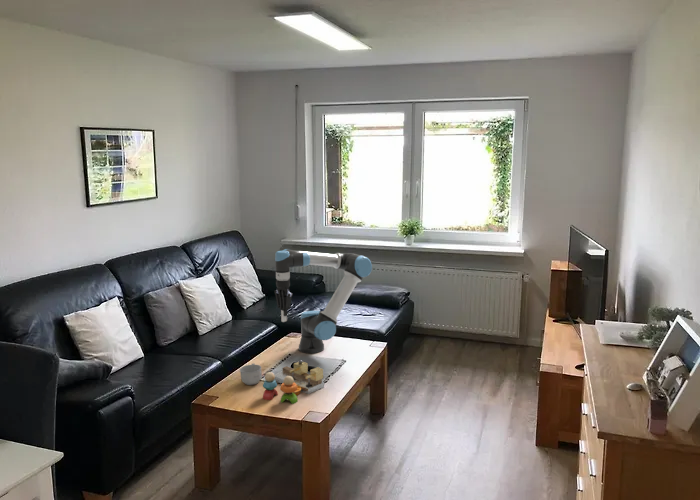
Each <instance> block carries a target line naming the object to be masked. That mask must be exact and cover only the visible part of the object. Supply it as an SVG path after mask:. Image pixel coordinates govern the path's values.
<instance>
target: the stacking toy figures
mask: <svg viewBox="0 0 700 500" xmlns="http://www.w3.org/2000/svg"><path fill="white" fill-rule="evenodd" d="M274 374H275V373H274V372H272V371H269V372H266V374H265V375H264V379H265V380H264V382H263V384H262V387H263V389H265V390H264V392H263V395H262V400H266V401H273V399H274V396H278V395H279V393H278V391H277V389H276V388H277V387H278V382H276V381H275V380H274V379H275V375H274ZM280 391H281V392H283V395H282V396H281V398H280V403H284V402H285V400H287V401H288V402H290V403H291V404H292V405H293V404H297V402H298V400H299V399H298V395H301V392H302V391H301V387H299V386H297V385H296V383H294V379H293V378H292V377H291V376H286V377H285V378H284V383H282V384H281V383H280Z"/></svg>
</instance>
